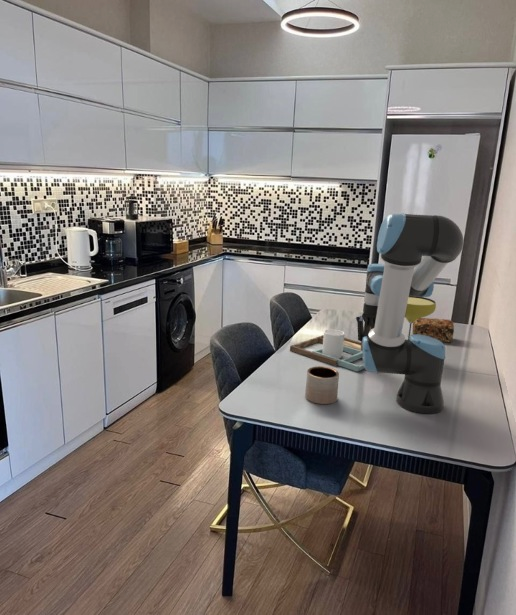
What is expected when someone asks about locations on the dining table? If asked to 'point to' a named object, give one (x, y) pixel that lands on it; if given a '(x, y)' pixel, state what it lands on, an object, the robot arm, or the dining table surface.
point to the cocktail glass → (418, 309)
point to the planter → (322, 385)
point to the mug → (333, 343)
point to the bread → (434, 328)
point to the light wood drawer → (354, 343)
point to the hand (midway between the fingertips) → (367, 359)
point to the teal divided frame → (348, 360)
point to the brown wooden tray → (298, 349)
